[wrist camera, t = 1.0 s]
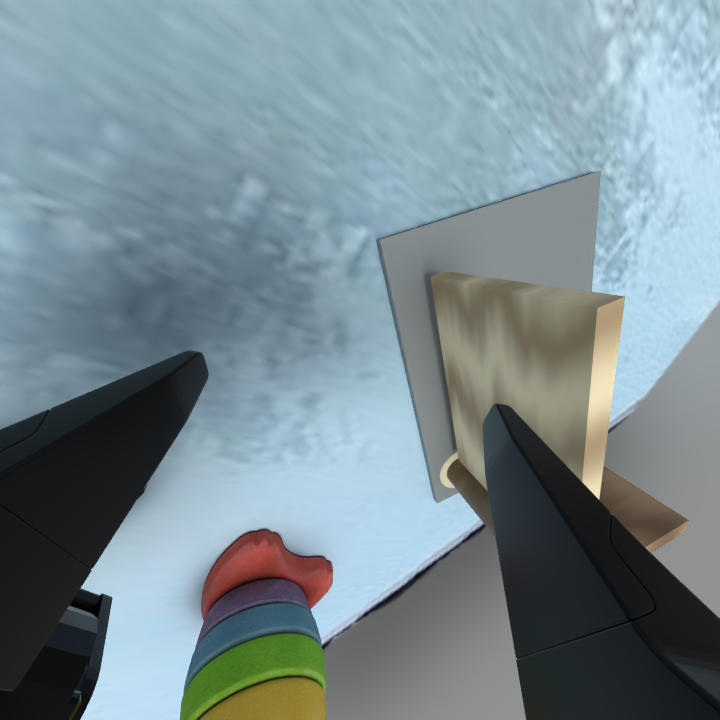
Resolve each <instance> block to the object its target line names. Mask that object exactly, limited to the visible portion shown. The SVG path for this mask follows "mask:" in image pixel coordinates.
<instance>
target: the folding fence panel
mask: <svg viewBox="0 0 720 720" xmlns="http://www.w3.org/2000/svg"><path fill="white" fill-rule="evenodd" d="M430 278H431V285H432V291H433V297H434V304H435V310H436V317H437V323H438V329H439V336H440V342H441V349H442V355H443V361H444V368H445V374H446V380H447V387H448V393H449V400H450V406H451V412H452V419H453V425H454V432H455V438H456V444H457V451H458V457H459V461H460V462H461V463H462V464H463V465H464V466H465V467H466V468H467V470H468V471H469V472H470V473H471V474H472V475H473V476H474V477H475V478H476V479H477V480H478V481H479V482H480V484H481V485H482V486H483V487H484V488H485V489H486V490H487V484H486V477H485V467H484V447H483V422H484V419H485V418H486V416H487V414H488V412H489V411H490V409H491V407H492V406H493V404H495V403H499V404H505V405H509V406H510V407H511V408H512V409H513V410H514V411H515V412H516V413H517V414H518V415H519V416H520V417H521V418H522V419H523V420H524V421H525V422H526V423H527V424H528V426H529V427H530V428H531V429H532V430H533V431H534V432H535V433H536V434H537V435H538V436H539V437H540V438H541V439H542V440H543V441H544V442H545V443H546V444H547V445H548V447H549V448H550V449H551V450H552V451H553V452H554V453H555V454H556V455H557V456H558V457H559V458H560V459H561V460H562V461H563V462H564V463H565V464H566V465H567V467H568V468H569V469H570V470H571V471H572V472H573V473H574V474H575V475H576V476H577V477H578V478H579V479H580V480H581V481H582V482H583V483H584V484H585V485H586V486H587V488H588V489H589V490H590V491H591V492H592V493H593V494H594V495H595V496H596V497H597V498H598V499H599V497H600V489H601V482H602V474H603V466H604V458H605V450H606V442H607V434H608V426H609V419H610V411H611V403H612V395H613V387H614V379H615V371H616V363H617V355H618V348H619V340H620V332H621V324H622V316H623V308H624V300H625V297H624V296H617V295H610V294H603V293H596V292H589V291H581V290H574V289H567V288H560V287H553V286H546V285H539V284H532V283H525V282H518V281H511V280H504V279H497V278H490V277H482V276H475V275H468V274H461V273H454V272H447V271H446V272H443V273H440V274H437V275H434V276H432V277H430ZM487 491H488V490H487Z"/></svg>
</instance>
